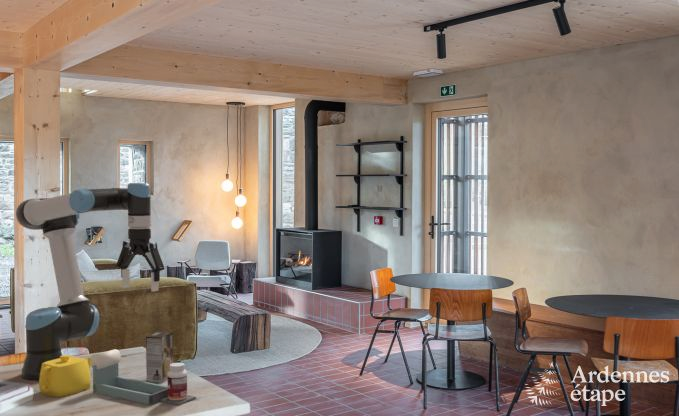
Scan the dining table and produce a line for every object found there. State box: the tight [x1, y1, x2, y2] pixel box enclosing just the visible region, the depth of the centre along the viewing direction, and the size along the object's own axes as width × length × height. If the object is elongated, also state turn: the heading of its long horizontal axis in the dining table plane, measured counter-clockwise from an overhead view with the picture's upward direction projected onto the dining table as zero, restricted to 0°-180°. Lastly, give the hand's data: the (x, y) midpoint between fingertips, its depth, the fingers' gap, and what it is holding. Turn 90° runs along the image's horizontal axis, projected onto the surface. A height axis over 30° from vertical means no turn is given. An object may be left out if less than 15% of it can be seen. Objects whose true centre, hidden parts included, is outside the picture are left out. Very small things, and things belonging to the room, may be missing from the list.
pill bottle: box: [167, 362, 188, 401], centre depth 235 cm, size 6×6×11 cm
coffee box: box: [145, 330, 174, 383], centre depth 259 cm, size 9×6×16 cm
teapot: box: [38, 354, 92, 398], centre depth 246 cm, size 20×12×12 cm, turn 147°
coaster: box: [160, 394, 197, 406], centre depth 235 cm, size 8×8×1 cm
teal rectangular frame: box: [90, 348, 168, 406], centre depth 241 cm, size 28×10×12 cm, turn 60°
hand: (140, 289), depth 253 cm, fingers open, 13 cm apart
